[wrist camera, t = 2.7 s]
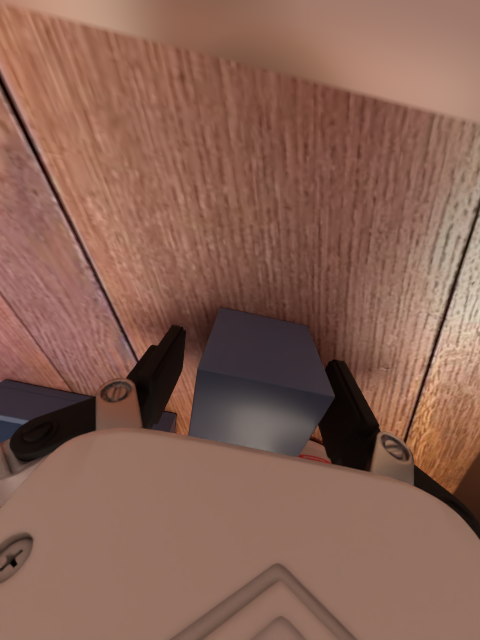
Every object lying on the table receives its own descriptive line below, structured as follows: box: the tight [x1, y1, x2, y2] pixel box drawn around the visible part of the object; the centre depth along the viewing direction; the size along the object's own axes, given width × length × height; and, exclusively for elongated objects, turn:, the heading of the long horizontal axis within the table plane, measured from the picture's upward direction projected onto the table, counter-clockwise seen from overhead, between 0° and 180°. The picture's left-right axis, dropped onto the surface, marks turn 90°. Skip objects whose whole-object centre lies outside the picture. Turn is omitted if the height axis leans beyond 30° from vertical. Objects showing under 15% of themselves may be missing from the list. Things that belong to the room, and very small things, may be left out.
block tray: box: [0, 380, 176, 443], centre depth 18 cm, size 13×13×3 cm
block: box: [188, 307, 335, 457], centre depth 11 cm, size 5×5×5 cm
